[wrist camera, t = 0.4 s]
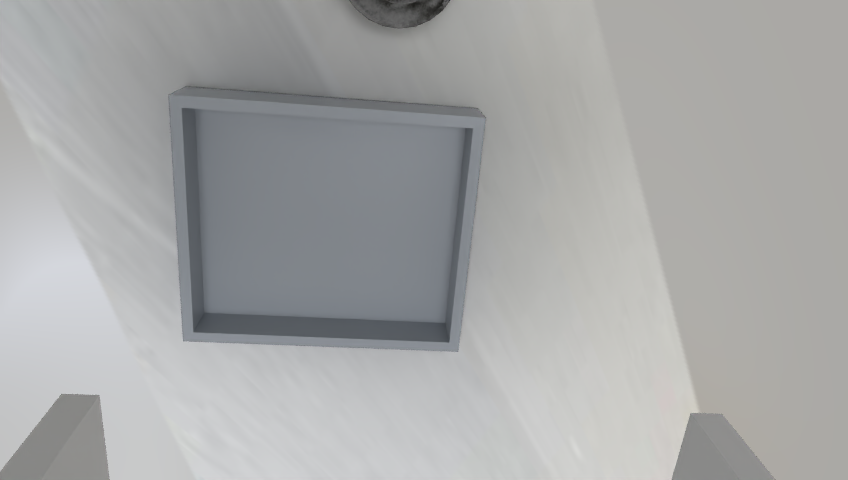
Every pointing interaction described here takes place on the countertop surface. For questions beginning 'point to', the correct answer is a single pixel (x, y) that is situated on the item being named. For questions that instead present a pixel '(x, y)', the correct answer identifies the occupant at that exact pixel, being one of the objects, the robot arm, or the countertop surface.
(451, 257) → the tray
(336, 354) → the countertop surface
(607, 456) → the countertop surface
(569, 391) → the countertop surface
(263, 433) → the countertop surface
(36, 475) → the robot arm
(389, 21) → the salt shaker
